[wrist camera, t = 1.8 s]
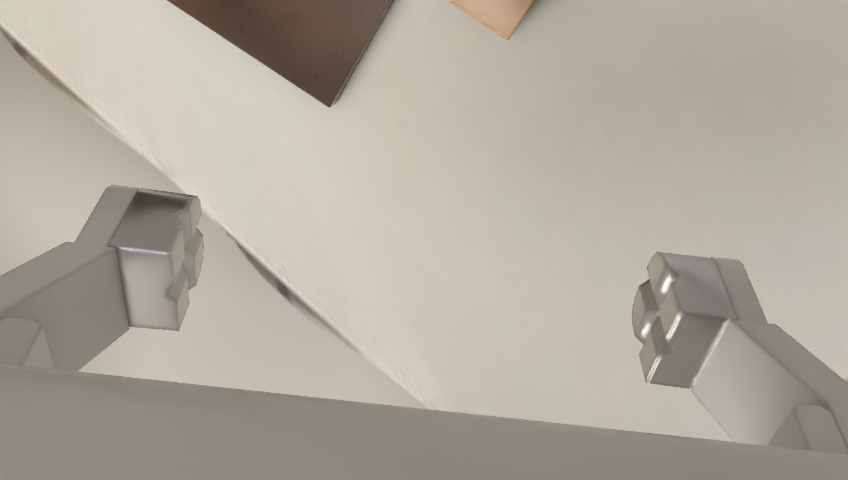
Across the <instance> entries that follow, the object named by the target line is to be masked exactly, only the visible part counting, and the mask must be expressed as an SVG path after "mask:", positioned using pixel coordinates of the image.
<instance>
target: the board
mask: <svg viewBox="0 0 848 480" xmlns="http://www.w3.org/2000/svg"><path fill="white" fill-rule="evenodd" d="M167 1H169V2H170V3H172V4H173V5H175V6H176V7H178V8H179V9H181V10H182V11H184V12H186V13H187V14H189V15H190V16H192V17H193V18H195V19H196V20H198V21H199V22H201V23H202V24H204V25H205V26H207V27H208V28H210V29H211V30H213V31H214V32H216V33H217V34H219V35H220V36H222V37H223V38H225V39H226V40H228V41H229V42H231V43H232V44H234V45H235V46H237V47H238V48H240V49H241V50H243V51H244V52H246V53H247V54H249V55H250V56H252V57H253V58H255V59H256V60H258V61H259V62H261V63H263V64H264V65H266V66H267V67H269V68H270V69H272V70H273V71H275V72H276V73H278V74H279V75H281V76H282V77H284V78H285V79H287V80H288V81H290V82H291V83H293V84H294V85H296V86H297V87H299V88H300V89H302V90H303V91H305V92H306V93H308V94H309V95H311V96H312V97H314V98H315V99H317V100H318V101H320V102H321V103H323V104H324V105H326V106H327V107H329V108H330V107H331V106H332V105H334V104H335V102H336V101H337V99H338V97H339V95H340V94H341V92H342V90H343V88H344V87H345V85H346V83H347V81H348V79H349V78H350V76H351V74H352V72H353V71H354V69H355V67H356V65H357V64H358V62H359V60H360V58H361V57H362V55H363V53H364V51H365V50H366V48H367V46H368V44H369V42H370V41H371V39H372V37H373V35H374V34H375V32H376V30H377V28H378V27H379V25H380V23H381V21H382V20H383V18H384V16H385V14H386V12H387V11H388V9H389V7H390V5H391V4H392V2H393V0H167Z"/></svg>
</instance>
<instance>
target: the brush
mask: <svg viewBox="0 0 848 480" xmlns="http://www.w3.org/2000/svg"><path fill="white" fill-rule="evenodd" d="M448 1H450V2H451V3H453V4H454V5H456V6H457V7H459V8H460V9H462V10H463V11H465V12H466V13H468V14H469V15H471V16H472V17H474V18H475V19H477V20H478V21H480V22H481V23H482V24H484V25H485V26H487V27H488V28H490V29H491V30H493V31H494V32H496V33H497V34H499V35H500V36H502V37H503V38H505V39H506V40H509V38H510V37H511V35H512V34H513V32H514V31H515V29H516V28H517V26H518V25H519V23H520V22H521V20H522V19H523V17H524V16H525V14H526V13H527V11H528V9H529V8H530V6H531V5H532V3H533V2H534V0H448Z"/></svg>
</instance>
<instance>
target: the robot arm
mask: <svg viewBox="0 0 848 480" xmlns="http://www.w3.org/2000/svg"><path fill="white" fill-rule="evenodd" d="M201 215H202V213H201V204H200V199H199V198H198V197H197V196H193V195H186V194H179V193H172V192H165V191H157V190H150V189H144V188H141V189H139V188H134V187H127V186H120V185H111V186H109V187H107V188H106V189H105V191H104V192H103V194H102V196H101V198H100V199H99V201H98V203H97V204H96V206H95V208H94V210H93V211H92V213H91V215H90V216H89V218H88V220H87V222H86V223H85V225H84V227H83V229H82V230H81V232H80V234H79V235H78V237H77V239H76V241H75V242H74V243H72V242H65V243H63V244H61V245H59V246H57V247H55V248H53V249H51V250H49V251H47V252H46V253H44V254H42V255H40V256H38V257H36V258H34V259H32V260H30V261H28V262H26V263H24V264H22V265H21V266H19V267H17V268H15V269H13V270H11V271H9V272H7V273H5V274H3V275H1V276H0V480H848V383H847V382H846V381H845V380H844V379H842V378H841V377H840V376H839V375H837V374H836V373H835V372H834V371H832V370H831V369H830V368H829V367H828V366H826V365H825V364H824V363H823V362H821V361H820V360H819V359H818V358H817V357H815V356H814V355H813V354H812V353H810V352H809V351H808V350H807V349H805V348H804V347H803V346H802V345H801V344H799V343H798V342H797V341H796V340H794V339H793V338H792V337H791V336H789V335H788V334H787V333H786V332H785V331H783V330H782V329H781V328H780V327H778V326H777V325H776V324H768V322H767V320H766V317H765V315H764V313H763V310H762V308H761V306H760V303H759V301H758V299H757V296H756V294H755V291H754V289H753V287H752V284H751V282H750V280H749V277H748V275H747V273H746V270H745V268H744V265H743V264H742V263H741V262H740V261H739V260H734V259H724V258H714V257H711V258H707V257H698V256H689V255H681V254H672V253H663V252H656V253H655V254H654V255H653V256H652V258H651V260H650V262H649V264H648V267H647V270H648V274H649V278H650V279H649V280H647V281H646V282H644V283H643V284H641V285H640V286H639V288H638V291H637V293H636V296H635V299H634V304H633V311H632V324H633V329H634V334H635V336H636V337H637V338H638V339H639V340H640V341H641V342H642V343H643V347H642V349H641V351H640V353H639V356H640V360H641V364H642V369H643V373H644V377H645V381H646V383H651V384H659V385H666V386H673V387H681V388H688V389H692V390H691V391H692V393H693V394H694V395H695V396H696V397H697V399H698V400H699V401H700V402H701V403H702V405H703V406H704V407H705V408H706V409H707V411H708V412H709V413H710V414H711V415H712V416H713V418H714V419H715V420H716V421H717V422H718V424H719V425H720V426H721V427H722V428H723V430H724V431H725V432H726V433H727V434H728V436H729V437H730V438H731V439H732V440H733V442H729V441H719V440H710V439H700V438H690V437H681V436H671V435H662V434H652V433H643V432H634V431H625V430H615V429H606V428H597V427H588V426H579V425H569V424H560V423H551V422H542V421H533V420H523V419H514V418H505V417H496V416H486V415H477V414H467V413H458V412H449V411H439V410H430V409H419V408H411V407H401V406H392V405H383V404H373V403H364V402H354V401H344V400H335V399H326V398H317V397H316V398H315V397H307V396H298V395H289V394H280V393H270V392H261V391H251V390H242V389H233V388H224V387H214V386H205V385H196V384H187V383H177V382H168V381H159V380H150V379H140V378H131V377H122V376H112V375H102V374H94V373H84V372H77V371H78V370H79V369H81V368H82V367H83V366H84V365H86V364H87V363H88V362H89V361H91V360H92V359H93V358H94V357H96V356H97V355H98V354H99V353H101V352H102V351H103V350H104V349H105V348H107V347H108V346H109V345H110V344H112V343H113V342H114V341H115V340H117V339H118V338H119V337H120V336H122V335H123V334H124V333H125V332H127V331H128V330H129V327H139V328H151V329H163V330H175V331H179V329H180V327H181V324H182V321H183V319H184V316H185V314H186V311H187V308H188V305H189V294H188V290H190V289H191V288H193V287H194V286H196V284H197V281H198V278H199V275H200V271H201V266H202V261H203V249H204V242H203V234H202V233H201V232H200V231H199V229H198V228H197V225H198V223H199V220H200V218H201Z"/></svg>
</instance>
